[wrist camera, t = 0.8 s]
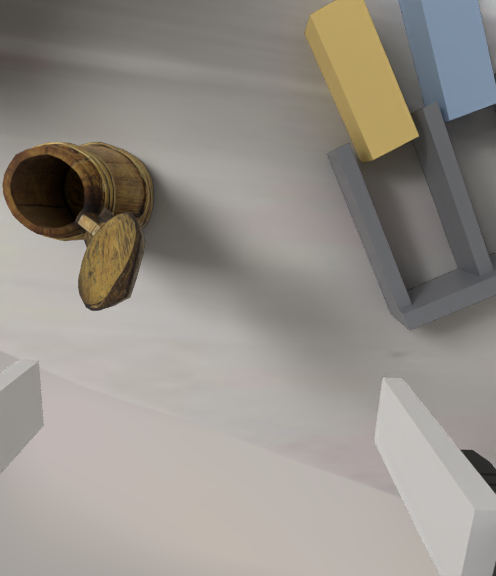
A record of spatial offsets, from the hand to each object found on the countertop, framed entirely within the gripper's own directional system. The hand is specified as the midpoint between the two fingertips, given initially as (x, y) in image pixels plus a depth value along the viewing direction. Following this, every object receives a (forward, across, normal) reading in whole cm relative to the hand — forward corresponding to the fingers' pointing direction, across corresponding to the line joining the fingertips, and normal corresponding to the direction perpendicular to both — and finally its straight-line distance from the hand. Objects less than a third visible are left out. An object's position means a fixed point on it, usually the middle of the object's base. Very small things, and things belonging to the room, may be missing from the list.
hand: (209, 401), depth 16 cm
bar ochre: (+25, +10, +17) cm, 32 cm away
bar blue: (+25, +16, +20) cm, 36 cm away
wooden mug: (+25, -11, +6) cm, 28 cm away
